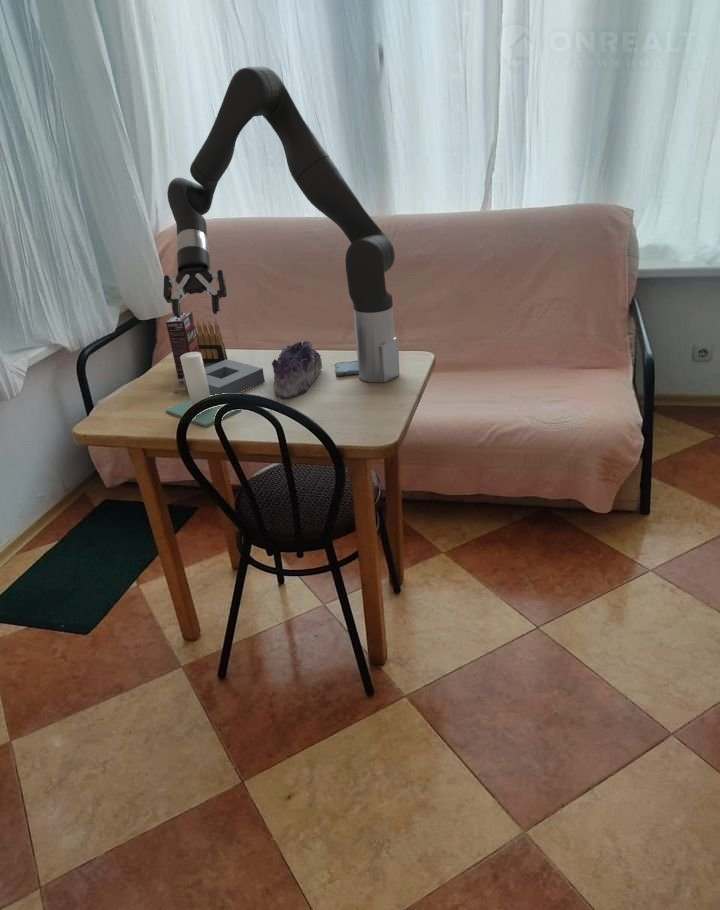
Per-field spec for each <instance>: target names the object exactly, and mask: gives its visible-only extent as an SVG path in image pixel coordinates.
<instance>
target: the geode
mask: <svg viewBox="0 0 720 910" xmlns="http://www.w3.org/2000/svg"><path fill="white" fill-rule="evenodd" d="M278 356H279V357H278V358H277V359H276V358H274V360H273V361H272V362H271V365H272V369H273V371H272V372H273V375H274V376H273V380H274V381H273V387H274V389H273V390H274V395H275V397H276V396H277V397H276V398H279V397H280V398H279V399H281V398H282V399H281V400H290V399H293V398H296V397H299V396H300V395H303V394H305V393H307V391H308V389H309V388H310V387H311V385H312V384H313V383H314V381H315V380H316V379H317V377H318V376H319V374H320V373H321V370H322V369H323V364H322V363H323V360H322V358H321V354H320V353H319V352H317V350H315V349H313V344H312V343H311V342H310V341H305V340H304V341H303V343H302V341H298V342H296V343H294V344H292V345H289V344H286V345H284V347H283V348H282V349H281V352H280V354H279V355H278Z"/></svg>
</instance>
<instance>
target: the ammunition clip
mask: <svg viewBox="0 0 720 910" xmlns="http://www.w3.org/2000/svg"><path fill="white" fill-rule="evenodd" d="M207 325H208V326H207ZM194 326H195V331H196V336H197V340H198V345H199V350H200V353H201V355H202V360H203V364H204V363H206V364H212V363H213V364H216V363H218V362H221V361H223V360H226V359H228V356H227V351H226V346H225V343H224V342H223V336H222V332H221V329H220V326H219V323H218V320H217V319H214V325H213V323H212V320H211V319H208V324H207V323H206V320H205V319H202V325H201V322H200V321H199V319H196V325H195V323H194Z"/></svg>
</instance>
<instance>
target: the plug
mask: <svg viewBox="0 0 720 910" xmlns="http://www.w3.org/2000/svg"><path fill="white" fill-rule="evenodd" d="M180 360H181V364H182V368H183V372H184V376H185V380H186V384H187V388H188V390H187V391H188V396H189V400H190V401H191V405H193V404H195V403H196V402H198V401H200V400H202V399H205V398H207V397H209V396H210V391H209V387H208V382H207V378H206V373H205V369H204V368H205V365H204V363H203V360H202V355H201V353H200V352H189V353H185V354H183V355H181V356H180ZM210 410H212V408H211V409H208V410H206V411H204V412H202V413H205V412H208V411H210Z"/></svg>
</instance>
